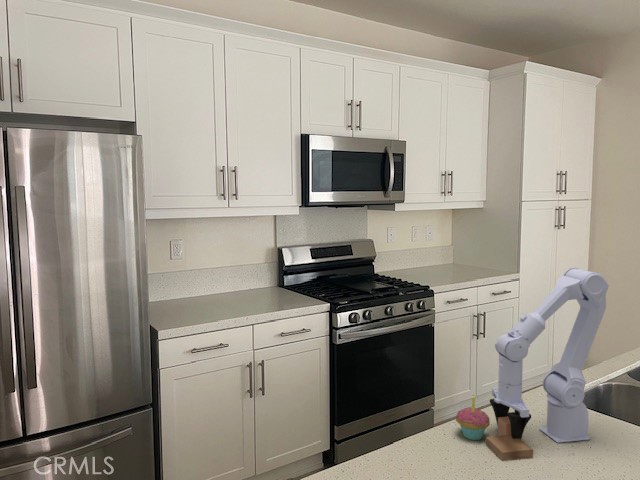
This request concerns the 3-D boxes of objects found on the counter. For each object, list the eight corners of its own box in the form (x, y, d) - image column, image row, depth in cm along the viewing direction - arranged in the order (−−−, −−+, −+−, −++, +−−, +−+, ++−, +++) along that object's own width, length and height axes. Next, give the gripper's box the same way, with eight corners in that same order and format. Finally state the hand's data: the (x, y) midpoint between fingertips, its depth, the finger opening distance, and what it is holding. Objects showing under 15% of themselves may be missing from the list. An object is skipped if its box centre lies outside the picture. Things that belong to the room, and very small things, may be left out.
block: (511, 434, 135) (512, 416, 135) (520, 441, 131) (520, 422, 131) (497, 435, 135) (498, 417, 134) (505, 443, 131) (506, 424, 130)
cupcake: (491, 444, 130) (492, 398, 129) (456, 441, 131) (457, 396, 130) (487, 429, 138) (488, 386, 137) (454, 427, 140) (455, 384, 139)
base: (514, 441, 131) (514, 434, 131) (532, 457, 123) (533, 449, 123) (485, 444, 130) (485, 437, 130) (502, 460, 122) (502, 452, 122)
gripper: (482, 373, 138) (481, 422, 139) (511, 393, 124) (509, 447, 125) (506, 371, 139) (504, 419, 140) (537, 391, 125) (536, 444, 126)
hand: (508, 432), depth 133 cm, fingers open, 6 cm apart
